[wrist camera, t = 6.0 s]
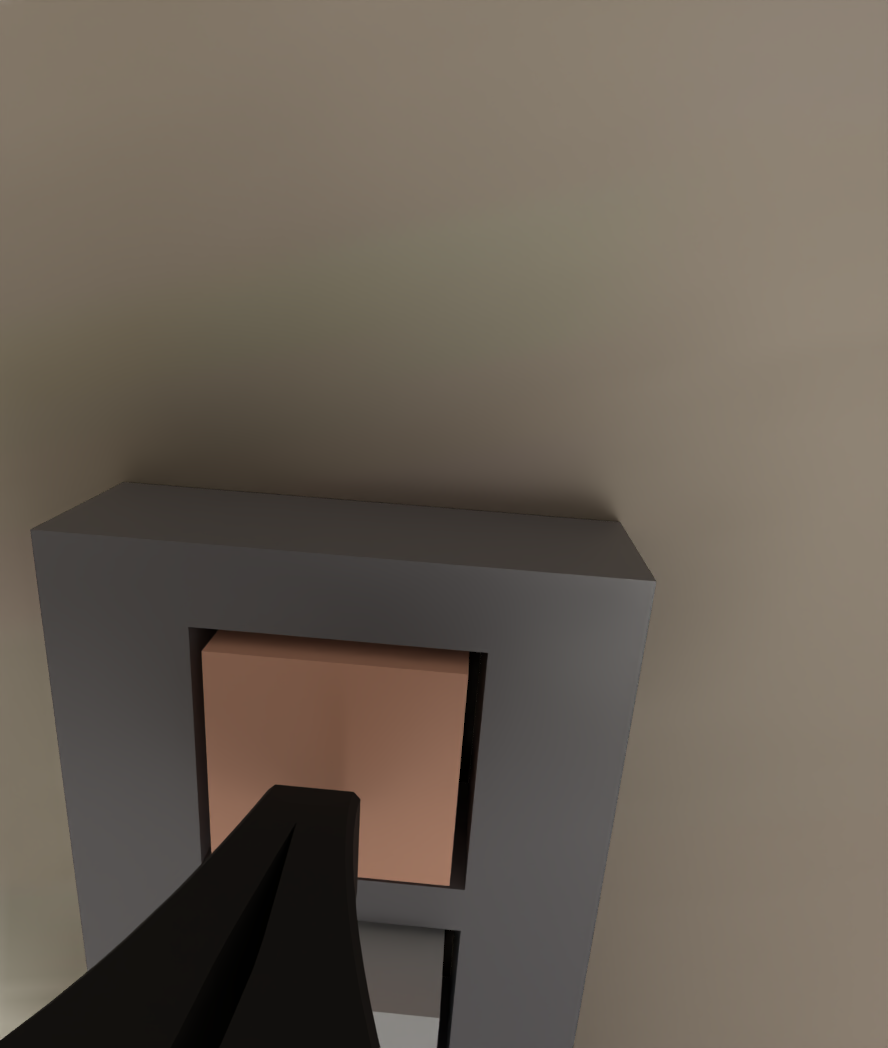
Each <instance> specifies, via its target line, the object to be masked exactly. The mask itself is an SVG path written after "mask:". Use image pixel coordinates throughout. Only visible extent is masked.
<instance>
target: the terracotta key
mask: <svg viewBox="0 0 888 1048" xmlns="http://www.w3.org/2000/svg"><path fill="white" fill-rule="evenodd" d="M468 670H469V651H461V650H449V649H438V648H426V647H415V646H403V645H392V644H380V643H368V642H357V641H345V640H334V639H322V638H311V637H299V636H288V635H276V634H265V633H253V632H242V631H230V630H218V631H217V632H216V634H215V635H214V636H213V637H212V639H211V640H210V641H209V642H208V644H207V645H206V646H205V647H204V649H203V650H202V671H203V692H204V712H205V732H206V752H207V773H208V793H209V813H210V833H211V854H212V853H213V851H214V850H215V849H216V848H217V847H218V846H219V845H220V844H221V843H222V842H223V841H224V840H225V838H226V837H227V836H228V835H229V834H230V833H231V832H232V831H233V830H234V829H235V827H236V826H237V825H238V824H239V823H240V822H241V821H242V819H243V818H244V817H245V816H246V815H247V814H248V813H249V811H250V810H251V809H252V808H253V807H254V806H255V805H256V803H257V802H258V801H259V800H260V799H261V797H262V796H263V795H264V794H265V793H266V792H267V790H268V789H270V788H271V787H272V786H274V785H275V784H277V785H287V786H298V787H309V788H319V789H330V790H340V791H351V792H354V793H355V794H356V795H357V796H358V797H359V798H360V827H359V854H358V877H362V878H372V879H382V880H393V881H403V882H413V883H423V884H434V885H444V886H449V885H450V874H451V863H452V852H453V840H454V829H455V818H456V807H457V796H458V784H459V773H460V762H461V751H462V740H463V728H464V717H465V706H466V695H467V684H468Z"/></svg>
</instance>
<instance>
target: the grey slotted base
mask: <svg viewBox="0 0 888 1048" xmlns="http://www.w3.org/2000/svg"><path fill="white" fill-rule="evenodd" d="M31 538H32V546H33V554H34V561H35V569H36V577H37V584H38V592H39V600H40V608H41V615H42V623H43V631H44V638H45V646H46V654H47V662H48V669H49V677H50V685H51V693H52V700H53V708H54V716H55V723H56V731H57V739H58V747H59V754H60V762H61V770H62V778H63V785H64V793H65V801H66V808H67V816H68V824H69V832H70V839H71V847H72V855H73V862H74V870H75V878H76V886H77V893H78V901H79V909H80V917H81V924H82V932H83V940H84V947H85V955H86V963H87V971H89V970H90V969H91V968H92V967H93V966H95V965H96V964H97V963H98V962H99V961H100V960H102V959H103V958H104V957H105V956H106V955H107V954H108V953H109V952H111V951H112V950H113V949H114V948H115V947H116V946H117V945H119V944H120V943H121V942H122V941H123V940H124V939H125V938H126V937H127V936H128V935H129V934H131V933H132V932H133V931H134V930H135V929H136V928H137V927H138V926H139V925H140V924H141V923H142V922H143V921H144V920H145V919H146V918H147V917H149V916H150V915H151V914H152V913H153V912H154V911H155V910H156V909H157V908H158V907H159V906H160V905H161V904H162V903H163V902H164V901H165V900H167V899H168V898H169V897H170V896H171V895H172V894H173V893H174V892H175V891H176V890H177V889H178V888H179V887H180V886H181V885H182V884H183V883H184V882H185V881H186V880H187V878H188V877H189V876H190V875H191V874H192V873H193V872H194V871H195V870H196V869H197V868H198V867H199V866H200V865H201V864H202V863H203V862H204V861H205V860H206V859H207V858H208V857H209V856H210V855H211V833H210V813H209V793H208V773H207V752H206V732H205V712H204V692H203V671H202V650H203V649H204V647H205V646H206V645H207V644H208V642H209V641H210V640H211V639H212V637H213V636H214V635H215V634H216V632H217V631H218V630H230V631H242V632H253V633H265V634H276V635H288V636H299V637H311V638H322V639H334V640H345V641H357V642H368V643H380V644H392V645H403V646H415V647H426V648H438V649H449V650H461V651H472V652H481V653H480V664H479V674H478V685H477V696H476V706H475V717H474V727H473V738H472V748H471V759H470V770H469V780H468V783H464V782H459V784H458V796H457V807H456V818H455V829H454V840H453V852H452V863H451V874H450V885H449V886H444V885H434V884H423V883H413V882H403V881H393V880H382V879H372V878H362V877H358V882H357V896H356V910H357V920H358V921H367V922H377V923H387V924H397V925H407V926H417V927H428V928H438V929H448V930H454V939H453V949H452V960H451V971H450V977H445V976H442V986H441V1002H440V1018H439V1029H438V1041H437V1048H573V1046H574V1040H575V1034H576V1029H577V1023H578V1018H579V1012H580V1006H581V1001H582V995H583V990H584V984H585V978H586V973H587V967H588V962H589V956H590V950H591V945H592V939H593V934H594V928H595V922H596V917H597V911H598V906H599V900H600V894H601V889H602V883H603V878H604V872H605V866H606V861H607V855H608V850H609V844H610V838H611V833H612V827H613V822H614V816H615V810H616V805H617V799H618V794H619V788H620V783H621V777H622V771H623V766H624V760H625V755H626V749H627V743H628V738H629V732H630V727H631V721H632V715H633V710H634V704H635V699H636V693H637V687H638V682H639V676H640V671H641V665H642V659H643V654H644V648H645V643H646V637H647V631H648V626H649V620H650V615H651V609H652V603H653V598H654V592H655V587H656V580H655V578H654V577H653V575H652V573H651V572H650V570H649V569H648V567H647V565H646V564H645V562H644V560H643V559H642V557H641V555H640V554H639V552H638V551H637V549H636V547H635V546H634V544H633V542H632V541H631V539H630V537H629V536H628V534H627V533H626V531H625V529H624V528H623V526H622V524H621V523H620V522H612V521H600V520H587V519H575V518H562V517H550V516H537V515H525V514H513V513H500V512H488V511H475V510H463V509H450V508H438V507H426V506H413V505H401V504H388V503H376V502H363V501H351V500H339V499H326V498H314V497H301V496H289V495H276V494H264V493H252V492H239V491H227V490H214V489H202V488H189V487H177V486H165V485H152V484H140V483H127V482H123V483H121V484H119V485H117V486H115V487H113V488H111V489H109V490H107V491H105V492H103V493H101V494H99V495H97V496H95V497H93V498H91V499H89V500H87V501H85V502H83V503H81V504H80V505H78V506H76V507H74V508H72V509H70V510H68V511H66V512H64V513H62V514H60V515H58V516H56V517H54V518H52V519H50V520H48V521H46V522H44V523H42V524H40V525H38V526H36V527H34V528H32V529H31Z"/></svg>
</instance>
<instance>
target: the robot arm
mask: <svg viewBox="0 0 888 1048" xmlns="http://www.w3.org/2000/svg"><path fill="white" fill-rule="evenodd" d="M359 827H360V798H359V797H358V796H357V795H356V794H355V793H354V792H351V791H340V790H330V789H319V788H309V787H298V786H287V785H277V784H275V785H274V786H272V787H271V788H270V789H268V790H267V792H266V793H265V794H264V795H263V796H262V797H261V799H260V800H259V801H258V802H257V803H256V805H255V806H254V807H253V808H252V809H251V810H250V811H249V813H248V814H247V815H246V816H245V817H244V818H243V819H242V821H241V822H240V823H239V824H238V825H237V826H236V827H235V829H234V830H233V831H232V832H231V833H230V834H229V835H228V836H227V837H226V838H225V840H224V841H223V842H222V843H221V844H220V845H219V846H218V847H217V848H216V849H215V850H214V851H213V853H212V854H211V855H210V856H209V857H208V858H207V859H206V860H205V861H204V862H203V863H202V864H201V865H200V866H199V867H198V868H197V869H196V870H195V871H194V872H193V873H192V874H191V875H190V876H189V877H188V878H187V880H186V881H185V882H184V883H183V884H182V885H181V886H180V887H179V888H178V889H177V890H176V891H175V892H174V893H173V894H172V895H171V896H170V897H169V898H168V899H167V900H165V901H164V902H163V903H162V904H161V905H160V906H159V907H158V908H157V909H156V910H155V911H154V912H153V913H152V914H151V915H150V916H149V917H147V918H146V919H145V920H144V921H143V922H142V923H141V924H140V925H139V926H138V927H137V928H136V929H135V930H134V931H133V932H132V933H131V934H129V935H128V936H127V937H126V938H125V939H124V940H123V941H122V942H121V943H120V944H119V945H117V946H116V947H115V948H114V949H113V950H112V951H111V952H109V953H108V954H107V955H106V956H105V957H104V958H103V959H102V960H100V961H99V962H98V963H97V964H96V965H95V966H93V967H92V968H91V969H90V970H89V971H88V972H86V973H85V974H84V975H83V976H82V977H80V978H79V979H78V980H77V981H76V982H74V983H73V984H72V985H71V986H69V987H68V988H67V989H66V990H65V991H63V992H62V993H61V994H60V995H58V996H57V997H56V998H55V999H54V1000H52V1001H51V1002H50V1003H49V1004H47V1005H46V1006H45V1007H43V1008H42V1009H41V1010H40V1011H38V1012H37V1013H36V1014H34V1015H33V1016H32V1017H30V1018H29V1019H28V1020H26V1021H25V1022H24V1023H22V1024H21V1025H20V1026H19V1027H17V1028H16V1029H15V1030H13V1031H12V1032H11V1033H9V1034H8V1035H7V1036H5V1037H4V1038H3V1039H2V1040H0V1048H380V1044H379V1039H378V1035H377V1030H376V1026H375V1021H374V1016H373V1012H372V1007H371V1002H370V997H369V992H368V986H367V981H366V975H365V969H364V963H363V956H362V950H361V943H360V936H359V928H358V920H357V910H356V896H357V882H358V854H359Z"/></svg>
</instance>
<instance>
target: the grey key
mask: <svg viewBox="0 0 888 1048" xmlns="http://www.w3.org/2000/svg"><path fill="white" fill-rule="evenodd" d="M358 928H359V936H360V943H361V950H362V956H363V963H364V969H365V975H366V981H367V986H368V992H369V997H370V1002H371V1007H372V1012H373V1016H374V1021H375V1026H376V1030H377V1035H378V1039H379V1044H380V1048H437V1041H438V1029H439V1018H440V1002H441V986H442V969H443V953H444V937H445V929H438V928H428V927H417V926H407V925H397V924H387V923H377V922H367V921H358Z"/></svg>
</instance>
